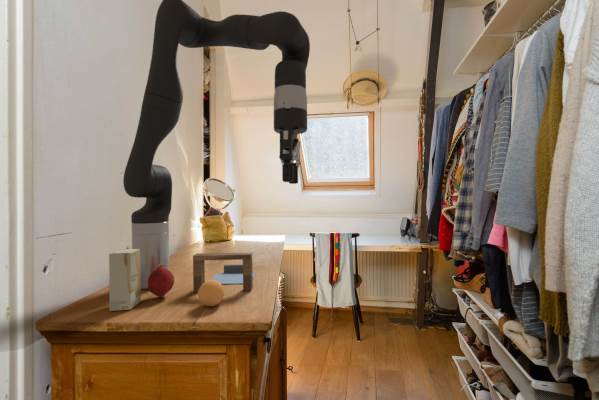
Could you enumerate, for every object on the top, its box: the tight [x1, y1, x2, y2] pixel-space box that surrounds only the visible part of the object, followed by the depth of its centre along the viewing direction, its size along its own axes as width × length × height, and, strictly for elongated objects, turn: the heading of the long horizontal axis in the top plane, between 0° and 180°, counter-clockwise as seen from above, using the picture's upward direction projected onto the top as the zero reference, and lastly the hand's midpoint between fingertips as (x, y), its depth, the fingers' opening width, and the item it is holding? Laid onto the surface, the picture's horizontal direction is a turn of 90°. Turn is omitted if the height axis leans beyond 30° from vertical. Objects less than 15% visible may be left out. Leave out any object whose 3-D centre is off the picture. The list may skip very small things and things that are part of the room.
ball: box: [197, 279, 225, 307], centre depth 66 cm, size 6×6×6 cm
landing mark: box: [210, 272, 256, 285], centre depth 88 cm, size 12×12×1 cm
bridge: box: [192, 252, 254, 293], centre depth 77 cm, size 3×14×9 cm, turn 91°
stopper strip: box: [223, 264, 243, 273], centre depth 95 cm, size 8×1×2 cm, turn 91°
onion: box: [147, 264, 175, 298], centre depth 72 cm, size 6×6×8 cm
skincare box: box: [108, 248, 142, 312], centre depth 66 cm, size 6×4×12 cm
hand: (290, 182), depth 67 cm, fingers open, 8 cm apart
